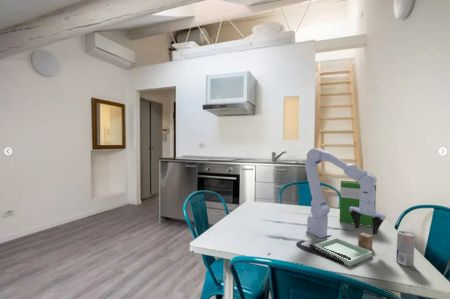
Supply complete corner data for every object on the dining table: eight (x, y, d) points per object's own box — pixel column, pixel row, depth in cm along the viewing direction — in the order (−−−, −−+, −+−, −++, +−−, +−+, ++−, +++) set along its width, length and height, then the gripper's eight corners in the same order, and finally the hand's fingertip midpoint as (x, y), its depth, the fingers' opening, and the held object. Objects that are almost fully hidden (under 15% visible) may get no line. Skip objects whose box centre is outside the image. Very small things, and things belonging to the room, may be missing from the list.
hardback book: (339, 221, 136) (341, 182, 135) (339, 218, 142) (340, 180, 142) (374, 227, 128) (376, 185, 127) (372, 223, 135) (374, 183, 134)
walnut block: (358, 247, 103) (358, 234, 102) (363, 245, 105) (363, 232, 104) (367, 250, 99) (367, 237, 99) (372, 248, 101) (372, 235, 101)
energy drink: (405, 260, 92) (407, 230, 91) (417, 267, 86) (418, 236, 86) (392, 260, 92) (394, 230, 91) (403, 267, 86) (405, 236, 86)
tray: (314, 249, 99) (314, 244, 99) (336, 241, 107) (336, 237, 107) (349, 267, 86) (349, 261, 86) (372, 256, 94) (372, 251, 94)
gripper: (389, 203, 97) (388, 235, 97) (355, 196, 110) (354, 224, 110) (381, 205, 93) (380, 238, 94) (347, 198, 106) (346, 226, 106)
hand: (365, 231), depth 102 cm, fingers open, 7 cm apart
